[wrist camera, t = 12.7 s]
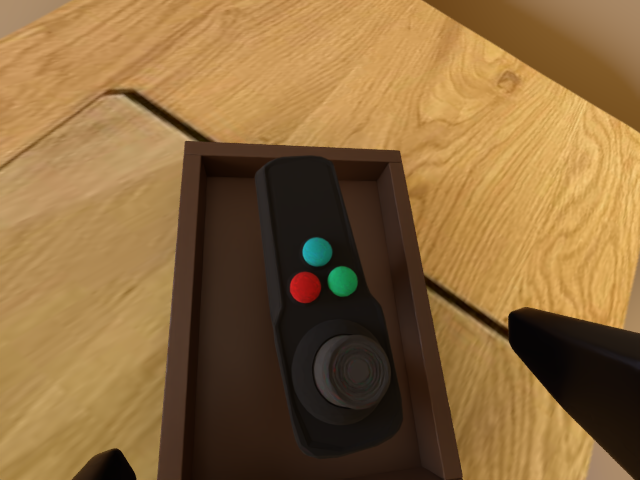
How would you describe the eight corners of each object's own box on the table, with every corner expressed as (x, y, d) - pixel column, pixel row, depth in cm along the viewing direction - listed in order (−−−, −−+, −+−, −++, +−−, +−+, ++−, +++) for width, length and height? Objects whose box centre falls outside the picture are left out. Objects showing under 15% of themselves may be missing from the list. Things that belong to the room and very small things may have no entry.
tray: (435, 481, 18) (468, 503, 15) (169, 525, 16) (149, 561, 13) (384, 174, 25) (400, 150, 22) (194, 168, 22) (184, 140, 20)
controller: (280, 431, 17) (303, 506, 8) (250, 220, 21) (244, 111, 12) (356, 411, 18) (454, 458, 9) (314, 214, 22) (353, 107, 13)
